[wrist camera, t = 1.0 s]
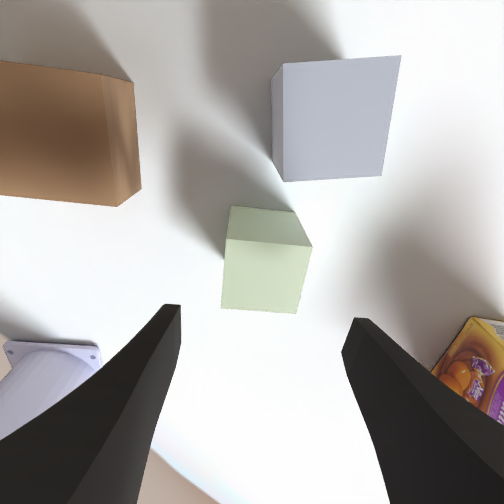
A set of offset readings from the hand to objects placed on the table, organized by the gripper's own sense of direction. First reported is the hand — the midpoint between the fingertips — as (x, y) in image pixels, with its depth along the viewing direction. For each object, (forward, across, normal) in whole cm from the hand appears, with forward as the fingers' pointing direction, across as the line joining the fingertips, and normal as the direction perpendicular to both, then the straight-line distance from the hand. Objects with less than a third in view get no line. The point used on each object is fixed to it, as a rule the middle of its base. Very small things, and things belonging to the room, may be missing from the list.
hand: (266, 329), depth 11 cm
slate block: (+10, -2, -8) cm, 12 cm away
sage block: (+10, 0, 0) cm, 10 cm away
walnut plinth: (+10, +11, -6) cm, 16 cm away
